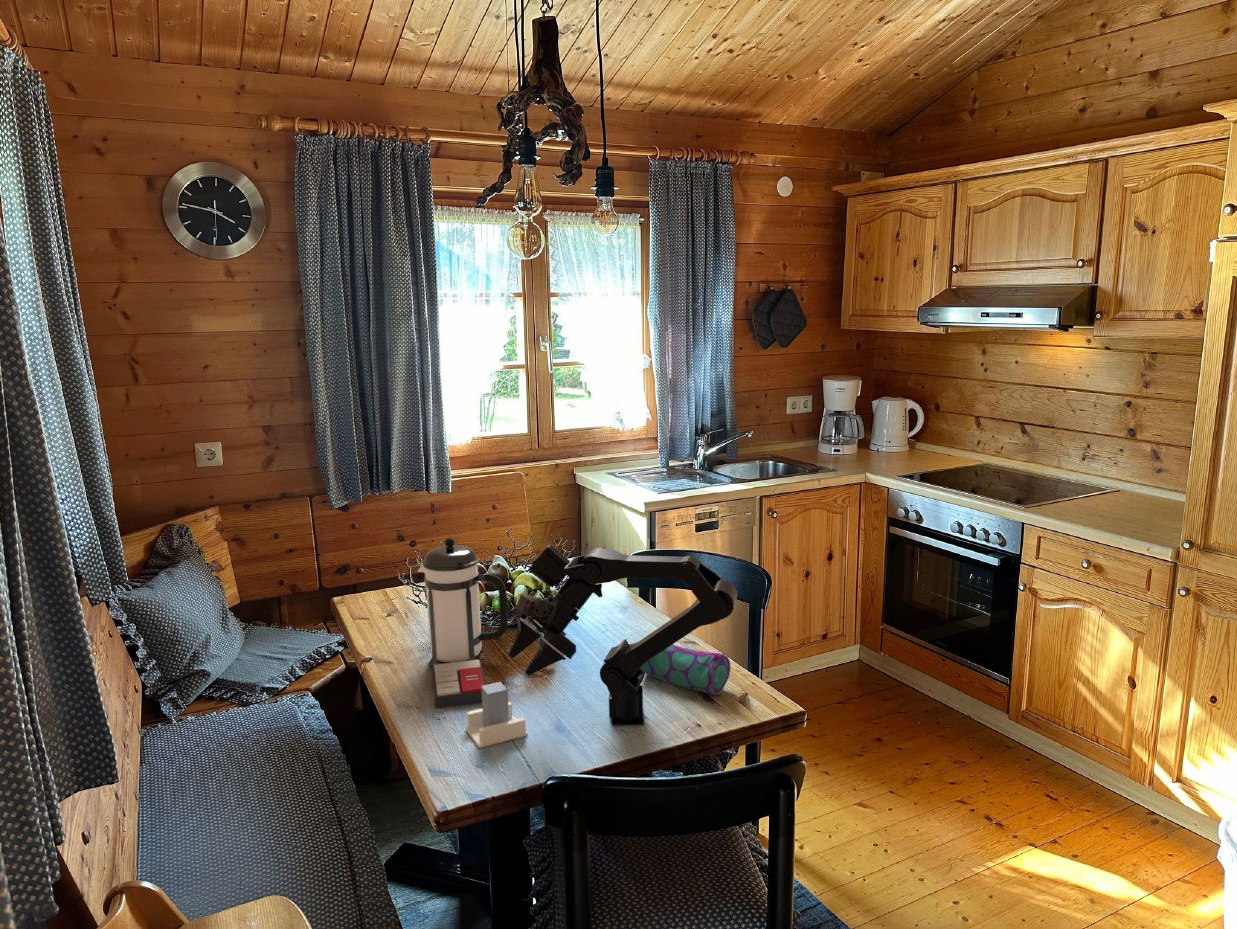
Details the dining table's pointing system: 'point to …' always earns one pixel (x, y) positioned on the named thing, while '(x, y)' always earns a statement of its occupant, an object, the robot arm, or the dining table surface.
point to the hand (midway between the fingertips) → (518, 665)
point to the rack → (494, 729)
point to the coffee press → (457, 603)
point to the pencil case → (690, 669)
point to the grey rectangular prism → (494, 704)
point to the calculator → (458, 683)
